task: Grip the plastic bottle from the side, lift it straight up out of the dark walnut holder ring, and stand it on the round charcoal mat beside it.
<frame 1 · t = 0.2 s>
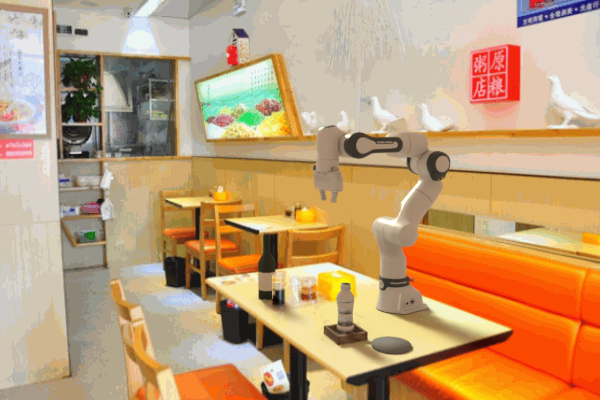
hand: (328, 201, 214), 48 cm above the table, tool pointing down, fingers open, 8 cm apart
serving mat: (391, 345, 189), on the table
wine bottle: (267, 297, 246), on the table
plastic bottle: (345, 337, 198), resting in bottle holder
bottle holder: (345, 336, 198), on the table
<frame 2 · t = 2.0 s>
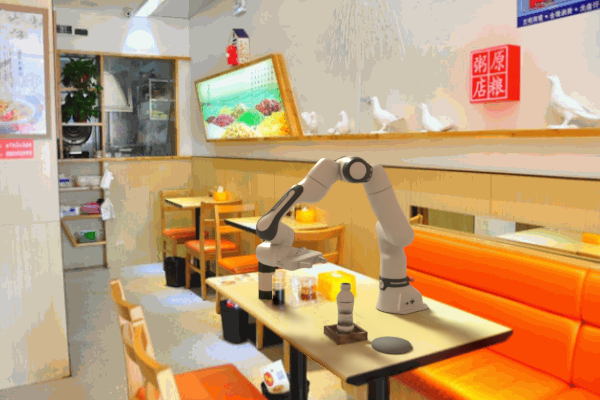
hand: (318, 263, 202), 26 cm above the table, tool horizontal, fingers open, 8 cm apart
nothing on the table moved.
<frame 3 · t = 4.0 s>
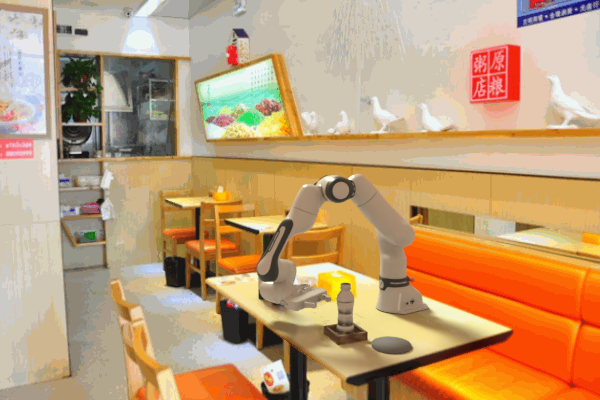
hand: (323, 302, 203), 11 cm above the table, tool horizontal, fingers open, 8 cm apart
nothing on the table moved.
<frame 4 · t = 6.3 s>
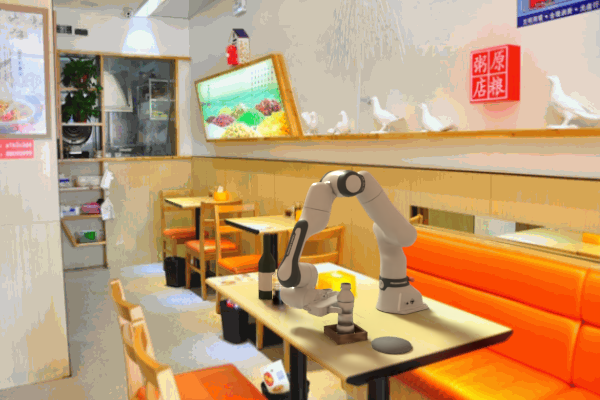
hand: (347, 308, 196), 11 cm above the table, tool horizontal, fingers closed on plastic bottle, 6 cm apart
plastic bottle: (345, 337, 198), resting in bottle holder, touching gripper
everything else where it was.
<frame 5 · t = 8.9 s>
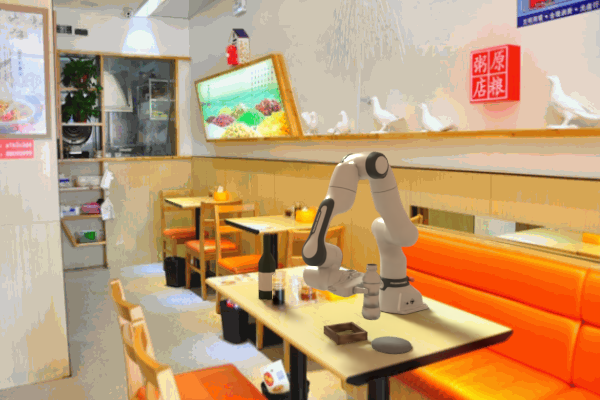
hand: (373, 288, 190), 20 cm above the table, tool horizontal, fingers closed on plastic bottle, 6 cm apart
plastic bottle: (371, 319, 192), point 8 cm above the table, touching gripper
everything else where it was.
when the fingers open (13 cm above the table, at t = 11.6 s): plastic bottle stays where it is, resting on serving mat.
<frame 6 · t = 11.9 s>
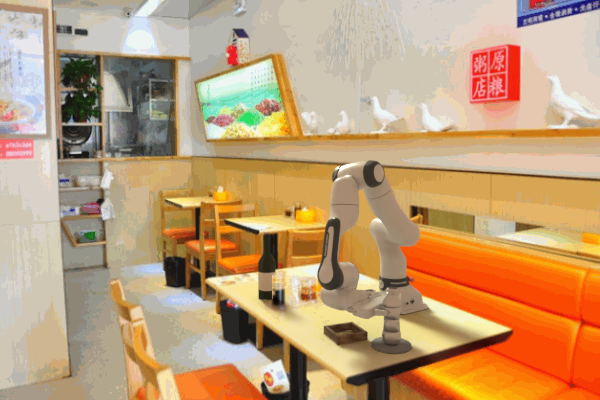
hand: (394, 310, 187), 13 cm above the table, tool horizontal, fingers open, 8 cm apart
plastic bottle: (391, 344, 189), point 1 cm above the table, touching serving mat
everything else where it was.
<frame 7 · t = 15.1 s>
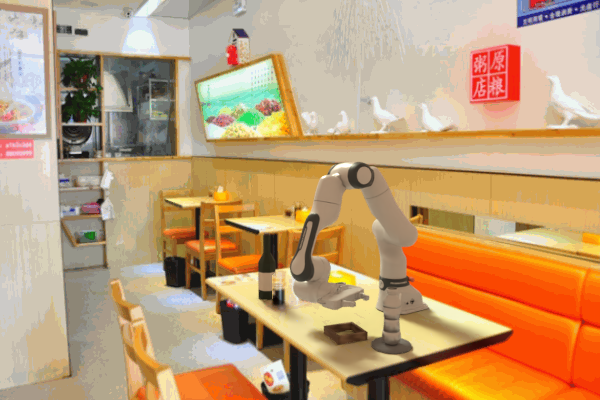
hand: (361, 301, 195), 14 cm above the table, tool horizontal, fingers open, 8 cm apart
nothing on the table moved.
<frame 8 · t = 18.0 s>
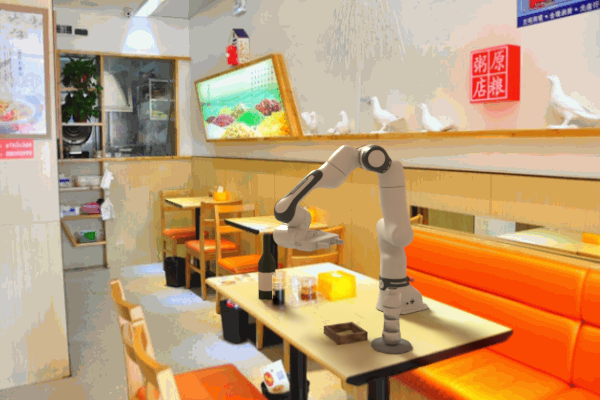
hand: (336, 244, 207), 32 cm above the table, tool horizontal, fingers open, 8 cm apart
nothing on the table moved.
at the end: plastic bottle 0.2 cm from the serving mat (horizontally); plastic bottle tilted 0°; plastic bottle touching serving mat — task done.
